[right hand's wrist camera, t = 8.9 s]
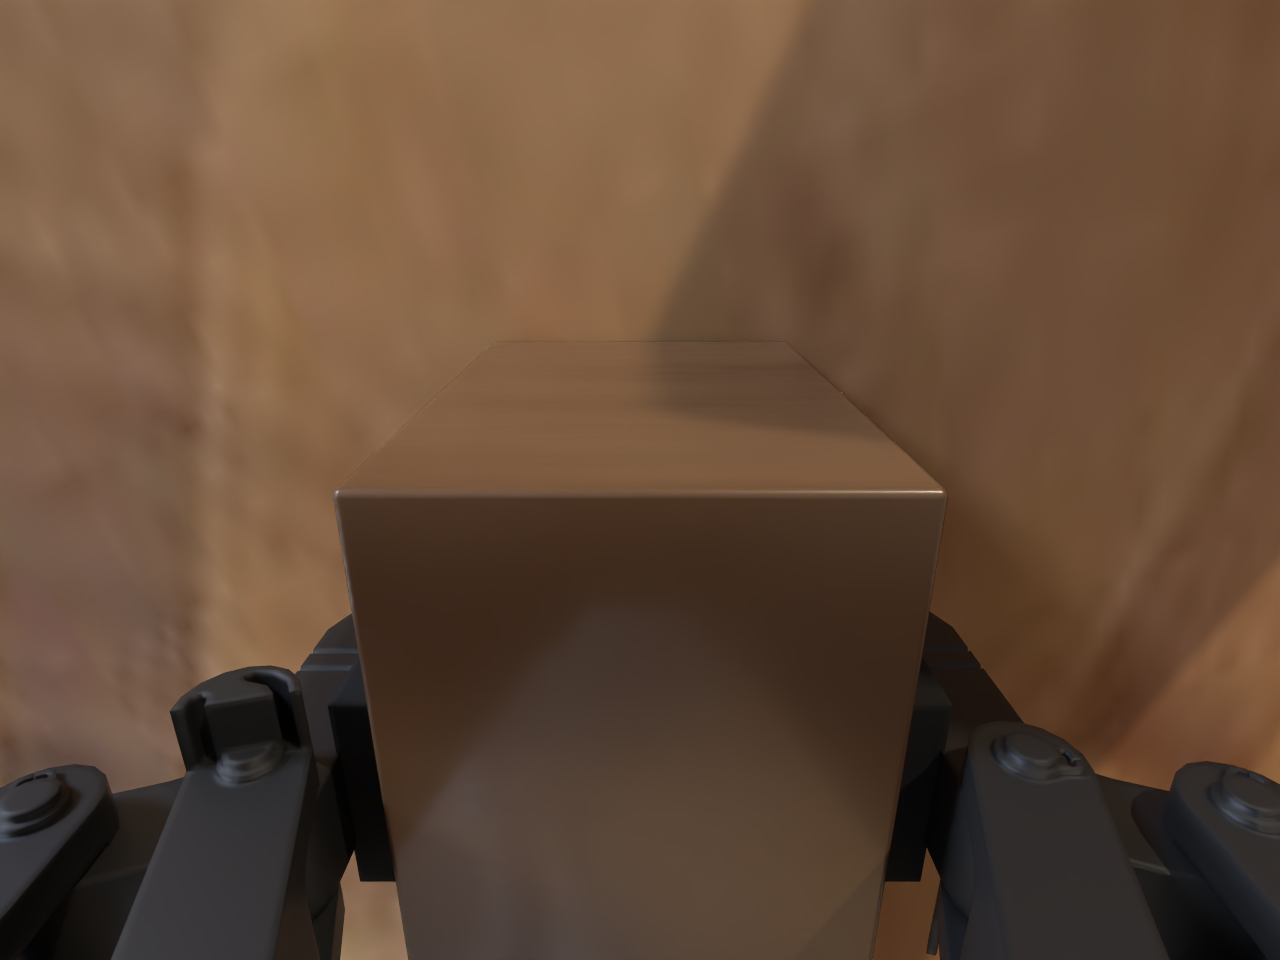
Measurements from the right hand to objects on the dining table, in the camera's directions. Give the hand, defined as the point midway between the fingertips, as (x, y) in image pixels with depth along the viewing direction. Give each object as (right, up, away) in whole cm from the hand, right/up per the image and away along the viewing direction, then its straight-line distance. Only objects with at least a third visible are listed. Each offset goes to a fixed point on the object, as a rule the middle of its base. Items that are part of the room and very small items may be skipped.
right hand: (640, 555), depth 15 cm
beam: (0, -20, +8) cm, 22 cm away
